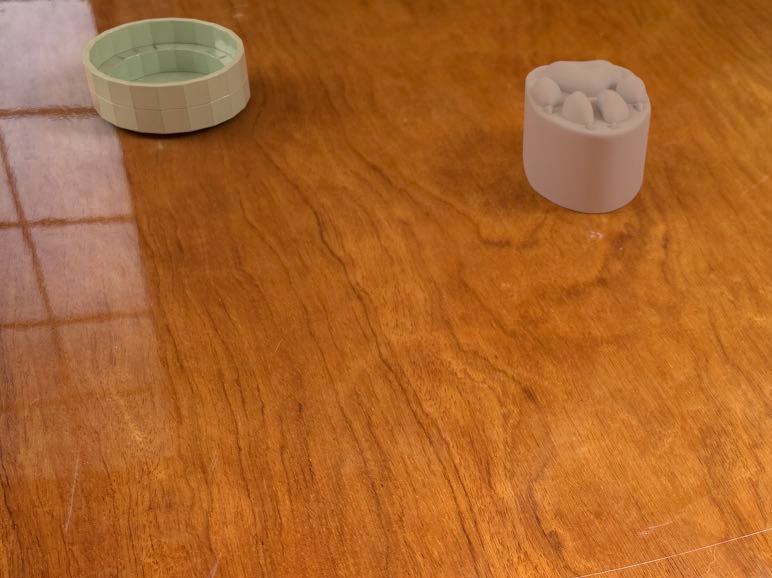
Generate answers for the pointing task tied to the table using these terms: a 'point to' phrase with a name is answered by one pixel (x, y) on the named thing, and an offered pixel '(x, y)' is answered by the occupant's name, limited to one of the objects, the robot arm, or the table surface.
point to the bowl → (167, 75)
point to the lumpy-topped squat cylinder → (585, 134)
